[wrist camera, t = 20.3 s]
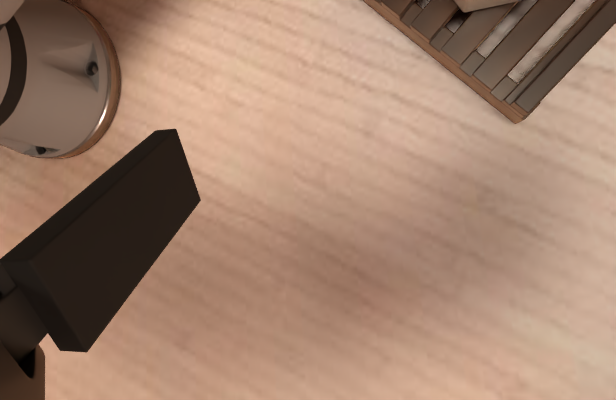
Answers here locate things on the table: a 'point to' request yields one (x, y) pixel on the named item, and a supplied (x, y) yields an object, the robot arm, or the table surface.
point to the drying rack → (500, 45)
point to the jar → (480, 4)
